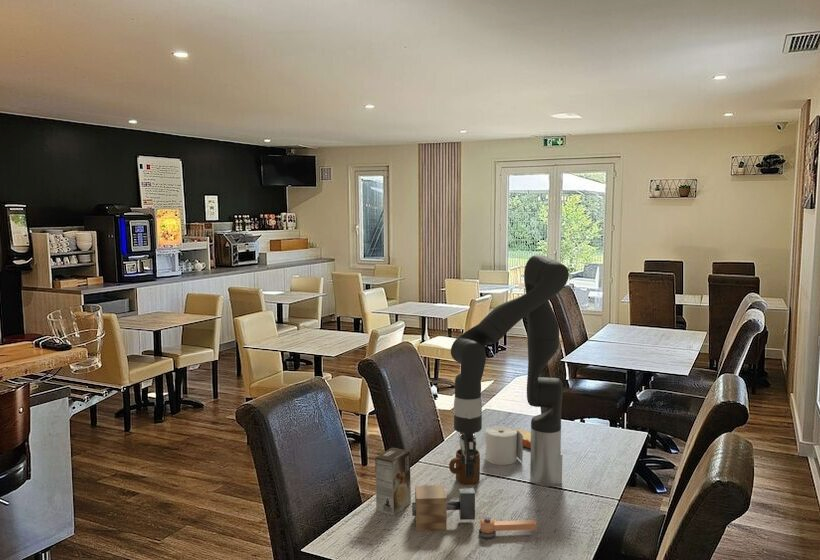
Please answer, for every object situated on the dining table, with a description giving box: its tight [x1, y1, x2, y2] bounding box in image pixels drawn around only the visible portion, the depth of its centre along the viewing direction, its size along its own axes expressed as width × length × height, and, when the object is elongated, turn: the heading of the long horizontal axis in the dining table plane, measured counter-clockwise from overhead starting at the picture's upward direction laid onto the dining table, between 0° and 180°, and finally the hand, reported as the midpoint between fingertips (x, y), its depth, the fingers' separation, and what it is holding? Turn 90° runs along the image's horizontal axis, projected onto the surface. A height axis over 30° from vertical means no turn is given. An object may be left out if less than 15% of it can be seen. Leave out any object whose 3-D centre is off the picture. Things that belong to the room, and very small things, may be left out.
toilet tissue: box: [485, 425, 524, 466], centre depth 216 cm, size 11×12×10 cm
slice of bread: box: [516, 428, 531, 450], centre depth 233 cm, size 18×18×4 cm
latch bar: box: [479, 517, 537, 534], centre depth 166 cm, size 4×15×3 cm, turn 93°
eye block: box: [414, 484, 448, 532], centre depth 172 cm, size 8×8×9 cm
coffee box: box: [374, 447, 412, 516], centre depth 181 cm, size 9×6×16 cm
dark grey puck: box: [478, 528, 497, 540], centre depth 166 cm, size 4×4×1 cm
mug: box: [448, 448, 481, 486], centre depth 198 cm, size 12×8×9 cm, turn 133°
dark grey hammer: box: [411, 487, 476, 521], centre depth 172 cm, size 17×3×8 cm, turn 92°
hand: (467, 470), depth 171 cm, fingers open, 8 cm apart
